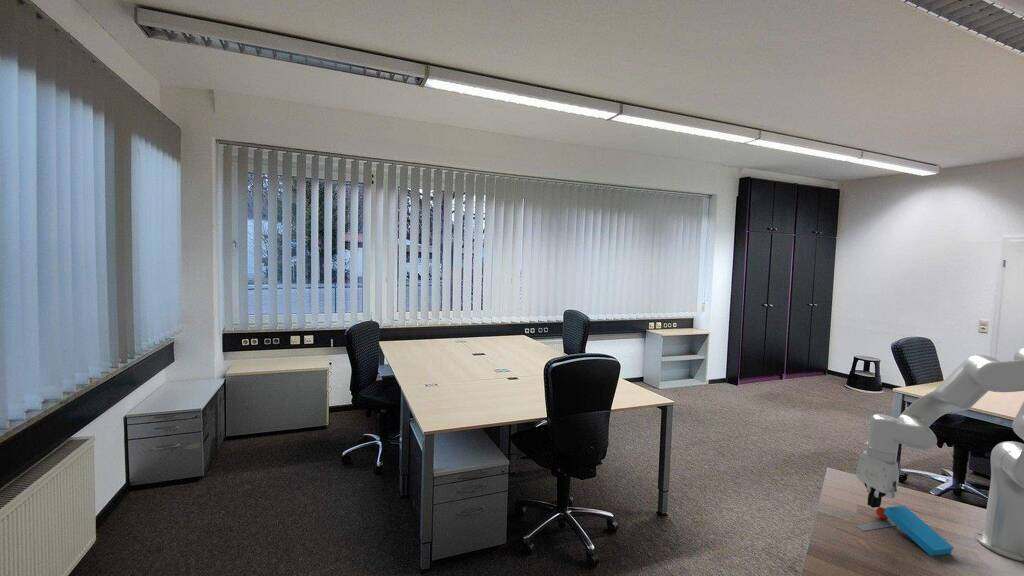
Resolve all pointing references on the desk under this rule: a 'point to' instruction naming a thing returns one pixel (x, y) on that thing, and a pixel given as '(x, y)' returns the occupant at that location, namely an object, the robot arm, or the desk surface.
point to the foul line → (876, 525)
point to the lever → (916, 529)
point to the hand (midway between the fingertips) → (873, 505)
